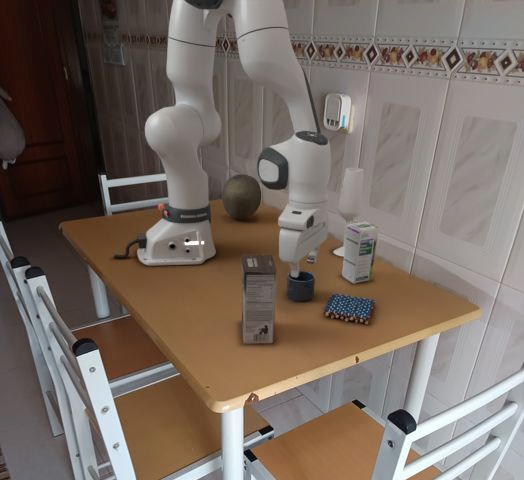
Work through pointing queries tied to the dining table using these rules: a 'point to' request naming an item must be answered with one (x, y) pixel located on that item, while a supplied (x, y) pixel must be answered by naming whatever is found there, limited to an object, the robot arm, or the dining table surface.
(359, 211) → the champagne flute
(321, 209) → the robot arm
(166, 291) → the dining table surface
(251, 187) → the cantaloupe
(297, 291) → the cup
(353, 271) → the syrup box
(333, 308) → the woven mat
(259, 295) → the coffee box
